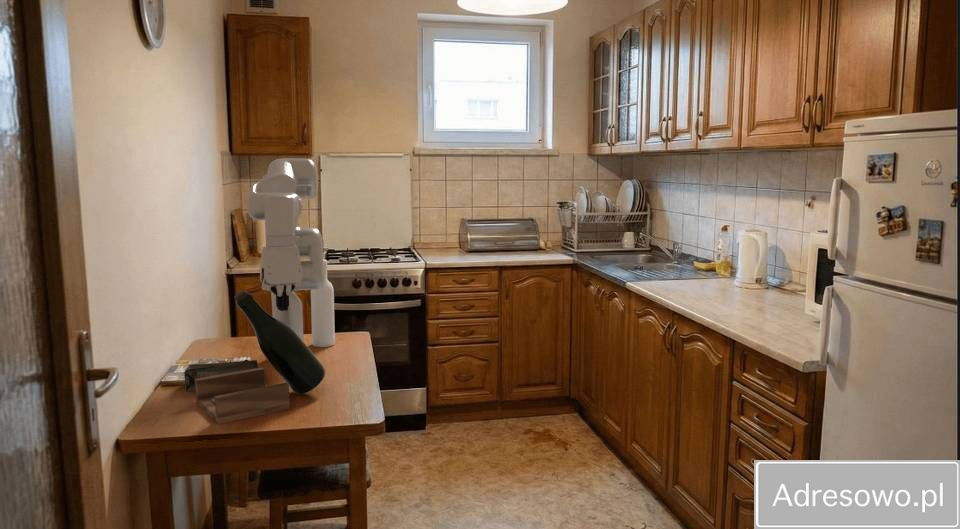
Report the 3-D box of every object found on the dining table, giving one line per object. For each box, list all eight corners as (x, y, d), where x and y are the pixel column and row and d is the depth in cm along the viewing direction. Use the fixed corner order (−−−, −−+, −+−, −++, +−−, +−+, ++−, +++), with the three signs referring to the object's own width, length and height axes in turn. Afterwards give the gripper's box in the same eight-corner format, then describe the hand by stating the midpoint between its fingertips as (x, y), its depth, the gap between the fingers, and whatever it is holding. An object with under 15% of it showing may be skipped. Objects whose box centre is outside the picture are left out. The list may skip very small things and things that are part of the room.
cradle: (195, 402, 181) (194, 379, 181) (262, 389, 192) (261, 367, 191) (218, 424, 167) (217, 398, 166) (289, 408, 178) (288, 384, 177)
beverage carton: (189, 383, 198) (188, 361, 197) (259, 379, 202) (258, 357, 202) (184, 392, 190) (183, 369, 189) (257, 388, 195) (256, 365, 194)
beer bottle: (304, 370, 197) (235, 284, 181) (332, 365, 192) (264, 276, 176) (287, 397, 189) (213, 310, 173) (316, 393, 184) (243, 303, 168)
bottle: (329, 347, 237) (327, 261, 232) (308, 346, 238) (305, 261, 234) (338, 342, 244) (336, 258, 240) (318, 340, 246) (315, 258, 242)
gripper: (301, 238, 188) (303, 304, 191) (247, 242, 179) (250, 311, 182) (313, 241, 182) (315, 308, 185) (257, 244, 173) (260, 316, 176)
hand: (282, 309), depth 183 cm, fingers closed
